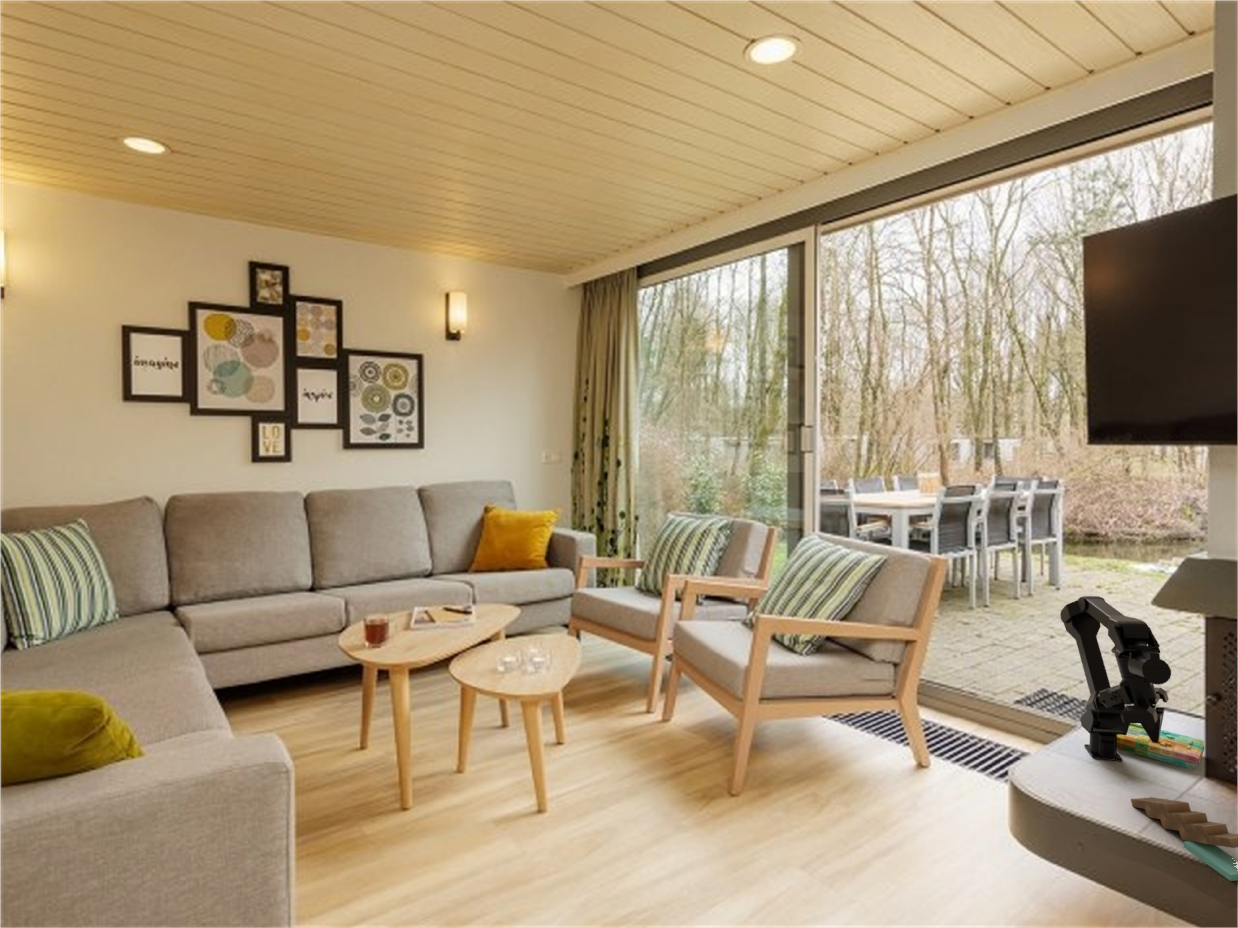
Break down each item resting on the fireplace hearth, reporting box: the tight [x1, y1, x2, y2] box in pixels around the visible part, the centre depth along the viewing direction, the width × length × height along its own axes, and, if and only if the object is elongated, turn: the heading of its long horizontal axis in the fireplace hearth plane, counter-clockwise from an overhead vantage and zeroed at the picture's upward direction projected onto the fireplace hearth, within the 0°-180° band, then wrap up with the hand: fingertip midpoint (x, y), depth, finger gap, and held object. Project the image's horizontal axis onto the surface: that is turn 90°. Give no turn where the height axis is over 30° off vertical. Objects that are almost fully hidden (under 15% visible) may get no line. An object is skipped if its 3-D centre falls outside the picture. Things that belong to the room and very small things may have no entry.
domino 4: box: [1178, 831, 1238, 849], centre depth 138 cm, size 2×5×10 cm
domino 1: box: [1130, 797, 1192, 813], centre depth 149 cm, size 2×5×10 cm
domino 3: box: [1160, 819, 1229, 835], centre depth 142 cm, size 2×5×10 cm
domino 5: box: [1183, 840, 1238, 882], centre depth 135 cm, size 2×5×10 cm
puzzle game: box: [1117, 723, 1205, 770], centre depth 177 cm, size 12×5×20 cm
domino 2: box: [1144, 809, 1209, 824], centre depth 146 cm, size 2×5×10 cm
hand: (1155, 742), depth 160 cm, fingers closed
